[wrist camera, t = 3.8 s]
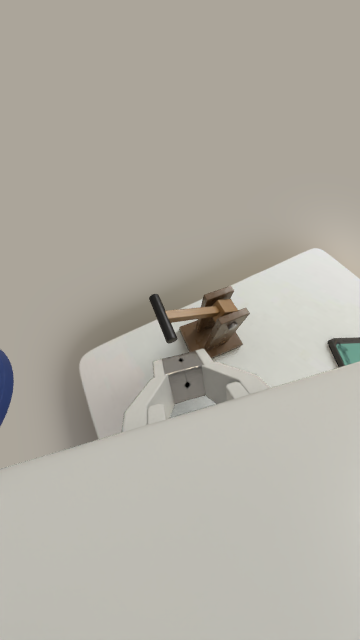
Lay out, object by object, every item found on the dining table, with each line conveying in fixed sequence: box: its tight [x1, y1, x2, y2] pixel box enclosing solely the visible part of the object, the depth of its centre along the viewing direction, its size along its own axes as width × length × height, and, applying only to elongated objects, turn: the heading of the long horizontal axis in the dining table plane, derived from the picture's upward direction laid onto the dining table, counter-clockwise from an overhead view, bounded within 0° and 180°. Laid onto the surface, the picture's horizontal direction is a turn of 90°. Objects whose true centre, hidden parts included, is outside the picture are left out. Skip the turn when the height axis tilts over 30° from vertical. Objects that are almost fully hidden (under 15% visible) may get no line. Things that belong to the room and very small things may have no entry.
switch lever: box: [149, 294, 238, 343], centre depth 22 cm, size 12×6×2 cm, turn 113°
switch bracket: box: [179, 286, 250, 359], centre depth 29 cm, size 10×8×13 cm
